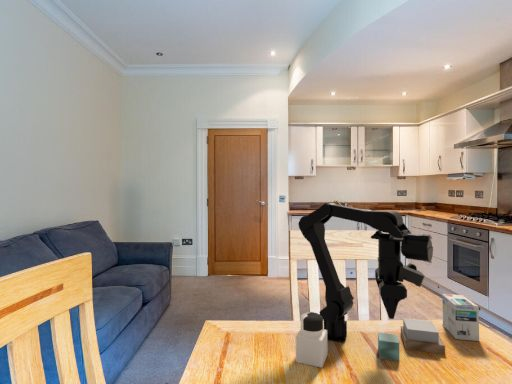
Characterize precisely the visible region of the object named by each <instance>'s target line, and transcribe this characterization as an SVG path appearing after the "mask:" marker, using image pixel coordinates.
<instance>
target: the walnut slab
mask: <svg viewBox="0 0 512 384" xmlns="http://www.w3.org/2000/svg"><path fill="white" fill-rule="evenodd" d="M400 335H401V338H402V342H403V344H404V349H405V350H411V351H417V352H425V353H432V354H439V355H446V345H445V343H444V341H443V340H442V338H441V337H440V335H439V343H433V342H425V341H417V340H409V339H407V336H406V334H405V331H404V328H403V325H401V326H400Z"/></svg>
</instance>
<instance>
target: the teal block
mask: <svg viewBox="0 0 512 384" xmlns="http://www.w3.org/2000/svg"><path fill="white" fill-rule="evenodd" d="M377 350H378V358H379V359H381V360H388V361H394V362H400V340H399V338H398V334H396V333H387V332H377Z"/></svg>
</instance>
